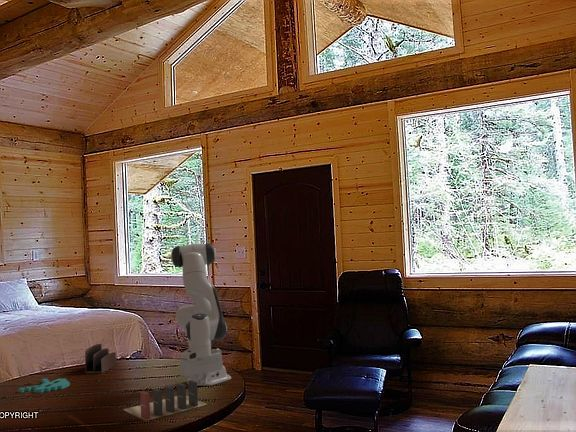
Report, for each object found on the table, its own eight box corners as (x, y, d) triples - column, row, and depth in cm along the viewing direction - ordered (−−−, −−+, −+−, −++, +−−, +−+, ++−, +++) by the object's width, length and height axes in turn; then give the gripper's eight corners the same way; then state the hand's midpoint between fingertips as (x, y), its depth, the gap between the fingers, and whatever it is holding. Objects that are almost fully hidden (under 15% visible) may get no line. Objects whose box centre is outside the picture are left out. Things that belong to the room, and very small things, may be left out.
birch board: (183, 396, 253) (183, 394, 253) (208, 406, 236) (208, 404, 236) (123, 411, 234) (122, 409, 234) (145, 423, 217) (145, 421, 217)
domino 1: (157, 412, 228) (156, 388, 228) (162, 415, 224) (161, 390, 224) (153, 413, 227) (152, 389, 227) (159, 416, 223) (158, 391, 223)
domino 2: (169, 409, 231) (168, 385, 232) (174, 411, 227) (173, 387, 228) (165, 410, 230) (164, 386, 231) (171, 412, 226) (170, 388, 227)
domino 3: (180, 406, 235) (179, 382, 235) (186, 408, 231) (185, 384, 231) (177, 407, 234) (176, 383, 234) (183, 409, 230) (182, 385, 230)
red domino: (144, 415, 224) (143, 391, 225) (150, 418, 220) (149, 393, 221) (141, 416, 223) (140, 391, 224) (146, 419, 219) (145, 394, 220)
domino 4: (192, 403, 238) (191, 380, 239) (197, 405, 234) (197, 382, 235) (188, 404, 237) (187, 380, 238) (194, 406, 233) (193, 382, 234)
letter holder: (85, 374, 309) (84, 348, 309) (100, 365, 329) (100, 342, 329) (102, 373, 308) (101, 348, 308) (116, 365, 328) (115, 341, 328)
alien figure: (18, 393, 275) (53, 393, 271) (18, 388, 275) (53, 389, 271) (43, 382, 294) (77, 382, 290) (43, 378, 294) (77, 378, 290)
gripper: (217, 347, 249) (218, 377, 248) (176, 354, 236) (178, 387, 235) (224, 348, 244) (226, 380, 243) (184, 356, 231) (185, 389, 230)
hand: (202, 383), depth 239 cm, fingers closed
